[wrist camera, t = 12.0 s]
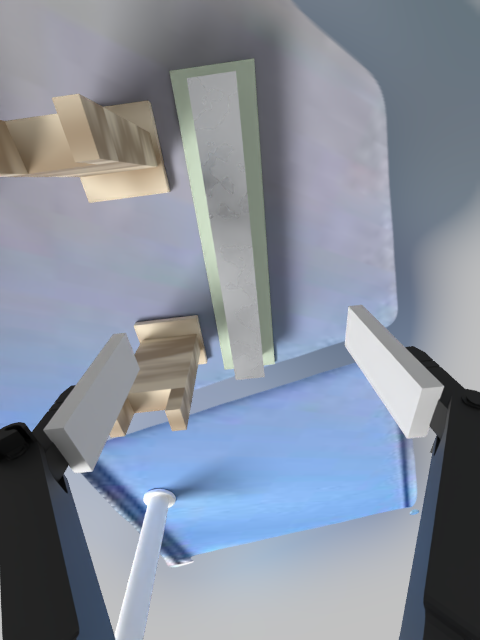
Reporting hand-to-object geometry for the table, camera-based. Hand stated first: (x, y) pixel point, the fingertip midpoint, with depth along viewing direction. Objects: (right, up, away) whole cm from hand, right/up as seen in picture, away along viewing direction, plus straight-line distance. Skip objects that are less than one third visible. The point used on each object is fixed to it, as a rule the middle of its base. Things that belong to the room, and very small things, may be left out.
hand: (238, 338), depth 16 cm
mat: (0, +10, +18) cm, 20 cm away
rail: (0, +9, +17) cm, 20 cm away
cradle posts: (-11, +8, +18) cm, 23 cm away
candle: (-18, -39, +44) cm, 62 cm away
